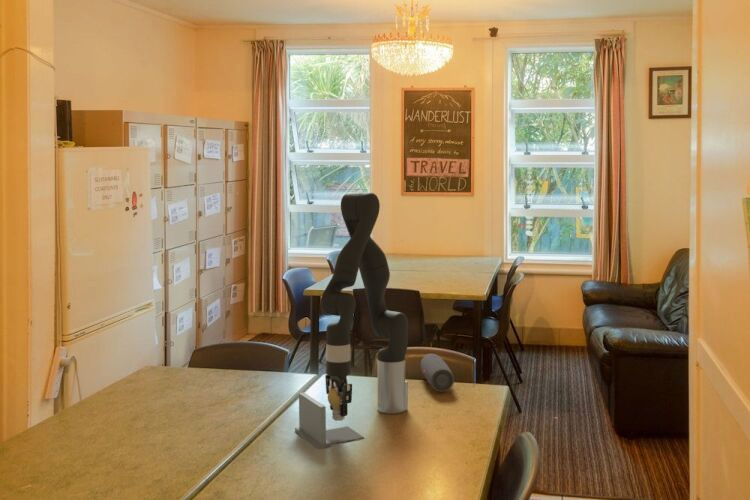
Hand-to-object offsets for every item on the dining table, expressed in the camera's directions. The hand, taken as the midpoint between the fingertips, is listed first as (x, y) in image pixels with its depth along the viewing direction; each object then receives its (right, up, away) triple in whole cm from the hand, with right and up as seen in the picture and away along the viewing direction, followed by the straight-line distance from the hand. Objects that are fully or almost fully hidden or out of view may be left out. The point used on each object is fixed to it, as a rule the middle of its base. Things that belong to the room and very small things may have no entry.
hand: (338, 412), depth 239 cm
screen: (-8, -8, -1) cm, 11 cm away
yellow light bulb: (0, -2, 0) cm, 2 cm away
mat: (0, -7, +1) cm, 7 cm away
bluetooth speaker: (+33, -1, +53) cm, 62 cm away
